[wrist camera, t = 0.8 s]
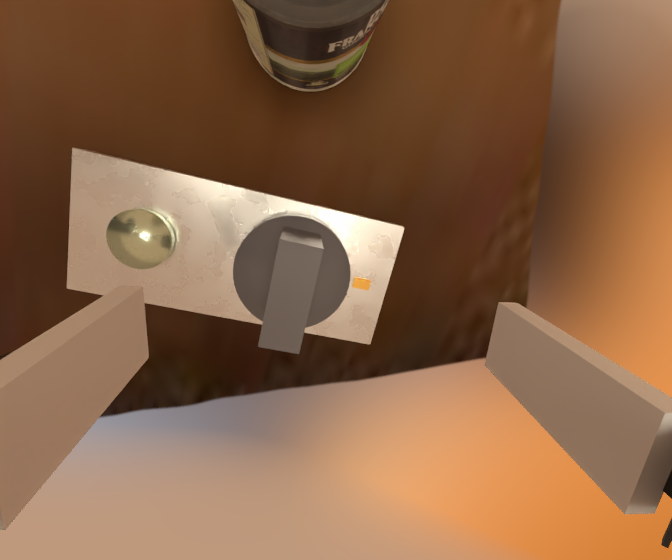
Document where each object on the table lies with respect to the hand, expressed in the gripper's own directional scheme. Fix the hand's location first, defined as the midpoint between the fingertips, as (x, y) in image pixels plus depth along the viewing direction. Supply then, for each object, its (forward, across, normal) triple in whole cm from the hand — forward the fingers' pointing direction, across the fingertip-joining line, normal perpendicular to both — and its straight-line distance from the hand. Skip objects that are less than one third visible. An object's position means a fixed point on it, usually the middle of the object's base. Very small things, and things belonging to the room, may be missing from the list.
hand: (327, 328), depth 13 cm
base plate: (+21, -7, -2) cm, 23 cm away
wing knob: (+19, -2, -3) cm, 20 cm away
